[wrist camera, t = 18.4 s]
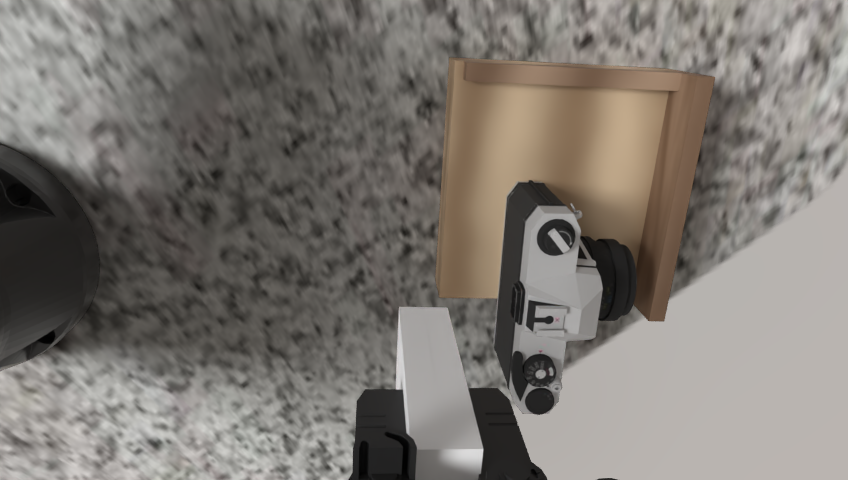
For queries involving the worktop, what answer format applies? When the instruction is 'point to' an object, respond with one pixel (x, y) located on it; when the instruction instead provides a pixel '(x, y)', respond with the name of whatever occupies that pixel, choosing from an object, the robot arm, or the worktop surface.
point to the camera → (552, 292)
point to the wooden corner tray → (569, 162)
